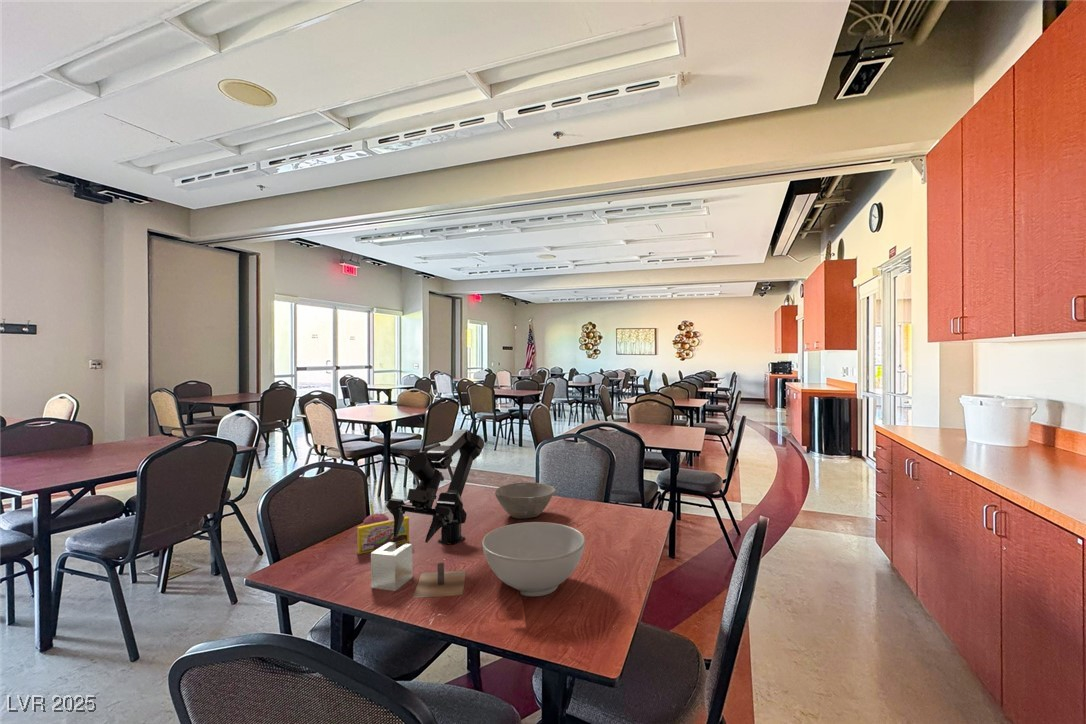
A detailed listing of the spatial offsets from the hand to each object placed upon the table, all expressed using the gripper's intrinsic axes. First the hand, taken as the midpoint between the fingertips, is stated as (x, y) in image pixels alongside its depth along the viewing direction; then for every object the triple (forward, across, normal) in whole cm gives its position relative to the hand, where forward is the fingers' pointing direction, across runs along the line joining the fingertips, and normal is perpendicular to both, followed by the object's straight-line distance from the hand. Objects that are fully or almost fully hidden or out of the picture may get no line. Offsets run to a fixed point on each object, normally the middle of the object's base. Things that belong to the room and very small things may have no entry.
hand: (410, 539), depth 132 cm
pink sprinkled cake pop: (-8, -23, +29) cm, 38 cm away
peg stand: (+11, +13, -2) cm, 17 cm away
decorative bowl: (+6, +36, 0) cm, 37 cm away
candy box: (-2, -15, +20) cm, 25 cm away
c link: (+13, 0, -1) cm, 13 cm away
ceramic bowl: (-29, +25, +44) cm, 58 cm away
